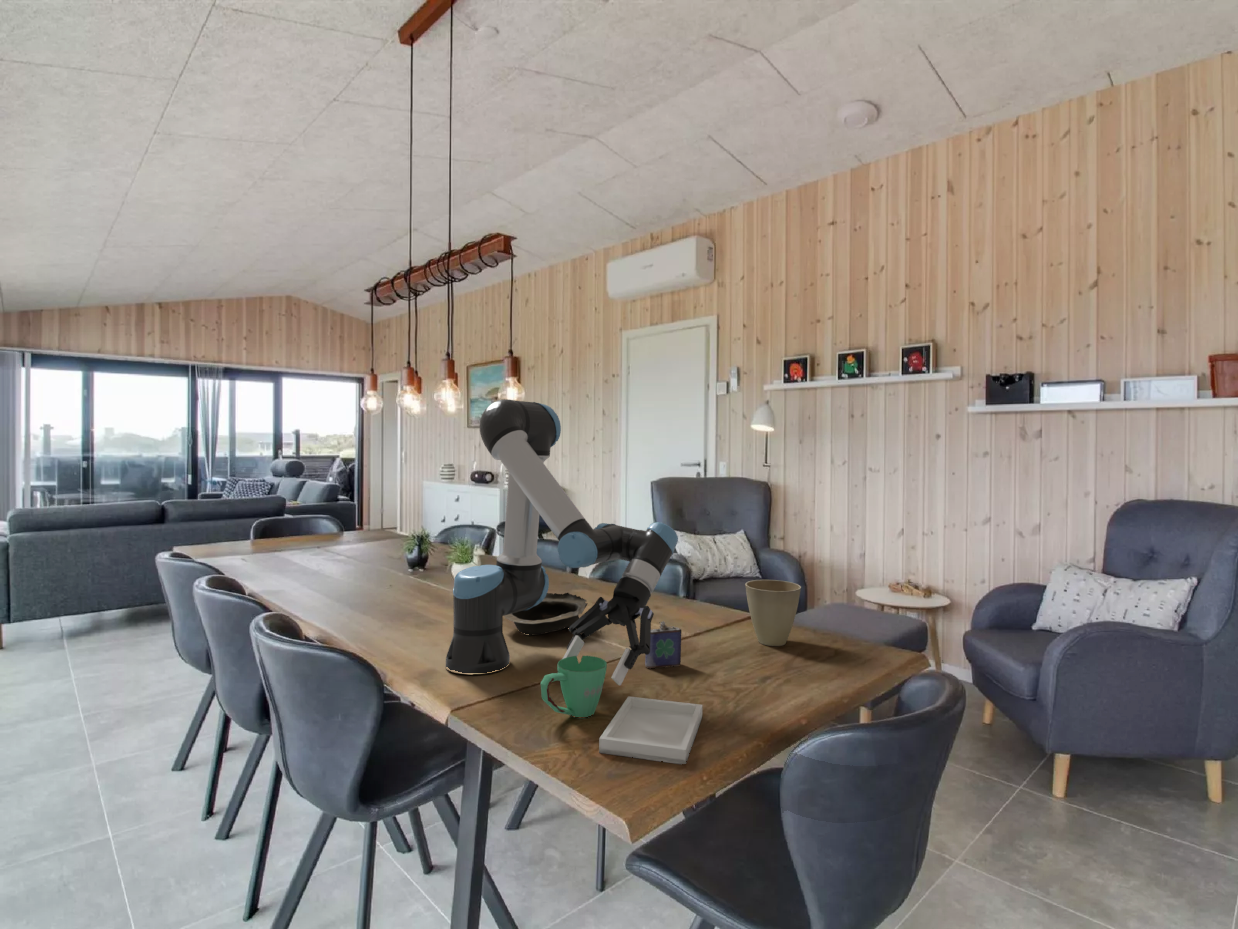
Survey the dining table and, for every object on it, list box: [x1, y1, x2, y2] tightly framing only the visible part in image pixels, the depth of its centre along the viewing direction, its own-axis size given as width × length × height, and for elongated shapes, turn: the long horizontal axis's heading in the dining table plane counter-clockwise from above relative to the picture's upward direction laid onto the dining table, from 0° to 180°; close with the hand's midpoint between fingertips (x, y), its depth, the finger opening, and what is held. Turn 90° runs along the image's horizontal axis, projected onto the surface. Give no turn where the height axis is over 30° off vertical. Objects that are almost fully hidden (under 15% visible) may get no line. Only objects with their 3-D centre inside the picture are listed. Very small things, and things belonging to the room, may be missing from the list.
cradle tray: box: [598, 695, 703, 765], centre depth 118 cm, size 15×20×2 cm
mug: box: [540, 655, 608, 718], centre depth 125 cm, size 15×10×10 cm
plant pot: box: [744, 579, 802, 647], centre depth 176 cm, size 15×15×16 cm
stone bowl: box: [503, 592, 588, 636], centre depth 186 cm, size 25×25×9 cm
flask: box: [644, 620, 682, 669], centre depth 156 cm, size 9×3×11 cm, turn 109°
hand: (589, 674), depth 126 cm, fingers open, 13 cm apart
